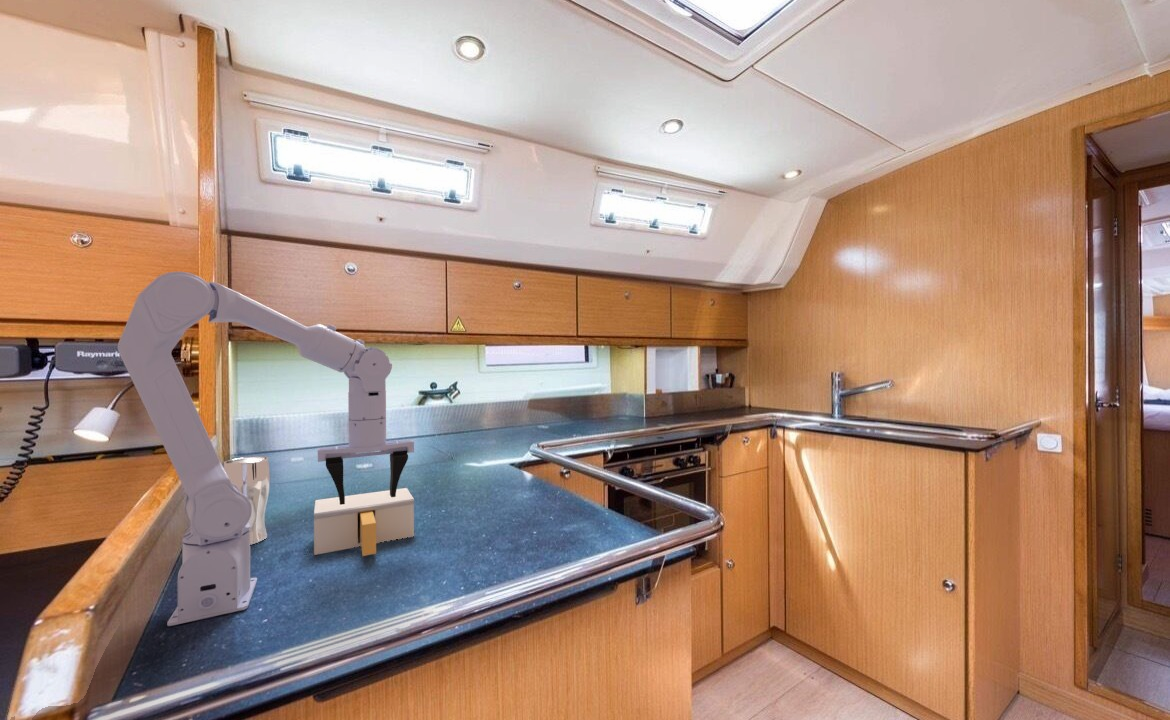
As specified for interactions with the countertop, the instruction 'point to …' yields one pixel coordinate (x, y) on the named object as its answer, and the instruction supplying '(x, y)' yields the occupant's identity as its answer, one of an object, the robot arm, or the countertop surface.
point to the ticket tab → (367, 532)
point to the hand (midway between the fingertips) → (368, 499)
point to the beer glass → (252, 489)
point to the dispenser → (341, 521)
